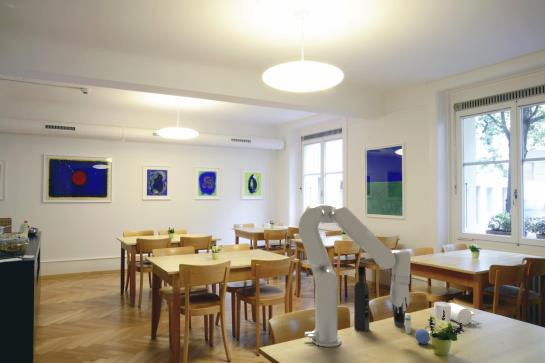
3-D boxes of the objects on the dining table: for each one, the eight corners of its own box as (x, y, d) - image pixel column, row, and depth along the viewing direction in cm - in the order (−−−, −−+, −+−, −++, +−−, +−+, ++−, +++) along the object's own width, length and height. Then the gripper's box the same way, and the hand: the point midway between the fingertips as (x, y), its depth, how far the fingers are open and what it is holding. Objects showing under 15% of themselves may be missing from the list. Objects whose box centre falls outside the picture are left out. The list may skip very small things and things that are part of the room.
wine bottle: (370, 329, 181) (369, 265, 182) (364, 332, 176) (363, 267, 177) (359, 326, 184) (359, 264, 185) (353, 329, 180) (353, 265, 181)
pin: (406, 333, 174) (406, 314, 175) (404, 331, 177) (404, 313, 177) (411, 333, 175) (411, 314, 175) (409, 331, 177) (409, 313, 177)
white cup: (444, 328, 182) (443, 307, 182) (430, 323, 189) (430, 303, 189) (455, 325, 186) (454, 304, 186) (441, 320, 193) (441, 300, 193)
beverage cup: (408, 328, 181) (407, 286, 182) (392, 327, 183) (392, 285, 184) (406, 323, 189) (405, 282, 189) (390, 322, 190) (390, 282, 191)
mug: (458, 325, 186) (457, 309, 186) (444, 318, 196) (444, 303, 196) (479, 323, 188) (478, 307, 189) (465, 317, 198) (464, 301, 198)
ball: (435, 337, 160) (427, 349, 161) (429, 331, 166) (421, 342, 167) (423, 330, 160) (415, 342, 160) (418, 323, 166) (410, 335, 166)
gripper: (385, 274, 171) (384, 315, 171) (398, 282, 157) (397, 327, 156) (401, 275, 172) (400, 316, 171) (416, 283, 157) (415, 328, 156)
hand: (398, 321), depth 164 cm, fingers closed
